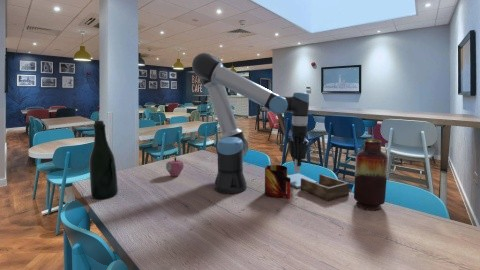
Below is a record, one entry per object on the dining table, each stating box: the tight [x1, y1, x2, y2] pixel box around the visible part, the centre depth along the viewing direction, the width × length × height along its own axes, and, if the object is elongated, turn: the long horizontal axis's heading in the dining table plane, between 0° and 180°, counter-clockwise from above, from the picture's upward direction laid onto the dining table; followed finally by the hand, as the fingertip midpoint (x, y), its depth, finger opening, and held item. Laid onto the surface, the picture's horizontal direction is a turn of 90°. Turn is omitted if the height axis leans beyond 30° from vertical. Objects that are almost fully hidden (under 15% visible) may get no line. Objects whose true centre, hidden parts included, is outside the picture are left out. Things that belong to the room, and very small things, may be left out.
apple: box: [165, 156, 185, 177], centre depth 145 cm, size 10×9×10 cm
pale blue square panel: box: [287, 172, 318, 189], centre depth 134 cm, size 13×13×1 cm
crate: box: [300, 173, 350, 202], centre depth 119 cm, size 16×13×6 cm
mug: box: [264, 164, 291, 200], centre depth 116 cm, size 10×14×12 cm
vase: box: [353, 138, 389, 212], centre depth 103 cm, size 11×11×26 cm
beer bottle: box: [88, 120, 119, 200], centre depth 116 cm, size 10×10×33 cm
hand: (297, 171), depth 133 cm, fingers closed
